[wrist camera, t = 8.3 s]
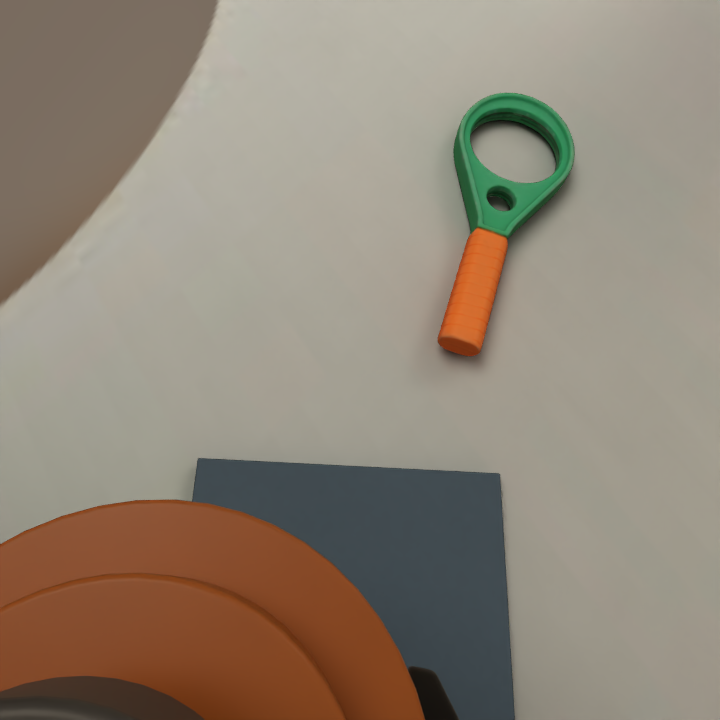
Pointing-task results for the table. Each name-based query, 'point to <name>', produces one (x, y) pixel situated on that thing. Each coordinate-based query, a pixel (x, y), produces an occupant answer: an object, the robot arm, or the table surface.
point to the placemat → (400, 558)
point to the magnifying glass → (495, 213)
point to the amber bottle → (187, 623)
